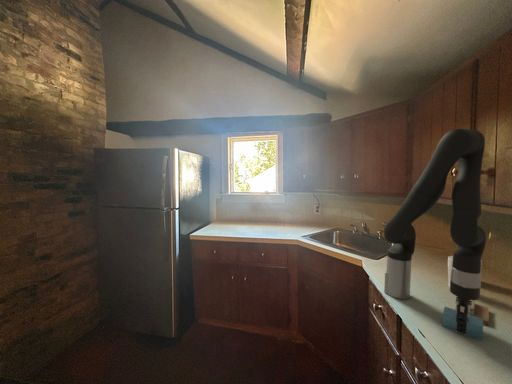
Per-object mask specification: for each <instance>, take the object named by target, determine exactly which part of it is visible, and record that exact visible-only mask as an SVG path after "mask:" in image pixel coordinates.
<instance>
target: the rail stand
mask: <svg viewBox="0 0 512 384" xmlns="http://www.w3.org/2000/svg"><path fill="white" fill-rule="evenodd" d="M471 301H472V305H471V309H470V315H473V316H476V317H479V318H482V319H483V325H485V326H489V324H490V323H489V322H490V321H489V318H490V317H489V316H490V314H489V313H490V311H489V307H488V306H485V305H482V304H479V303H476V302H475V301H476V300H471ZM454 310H456V307H455V309H454Z"/></svg>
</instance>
